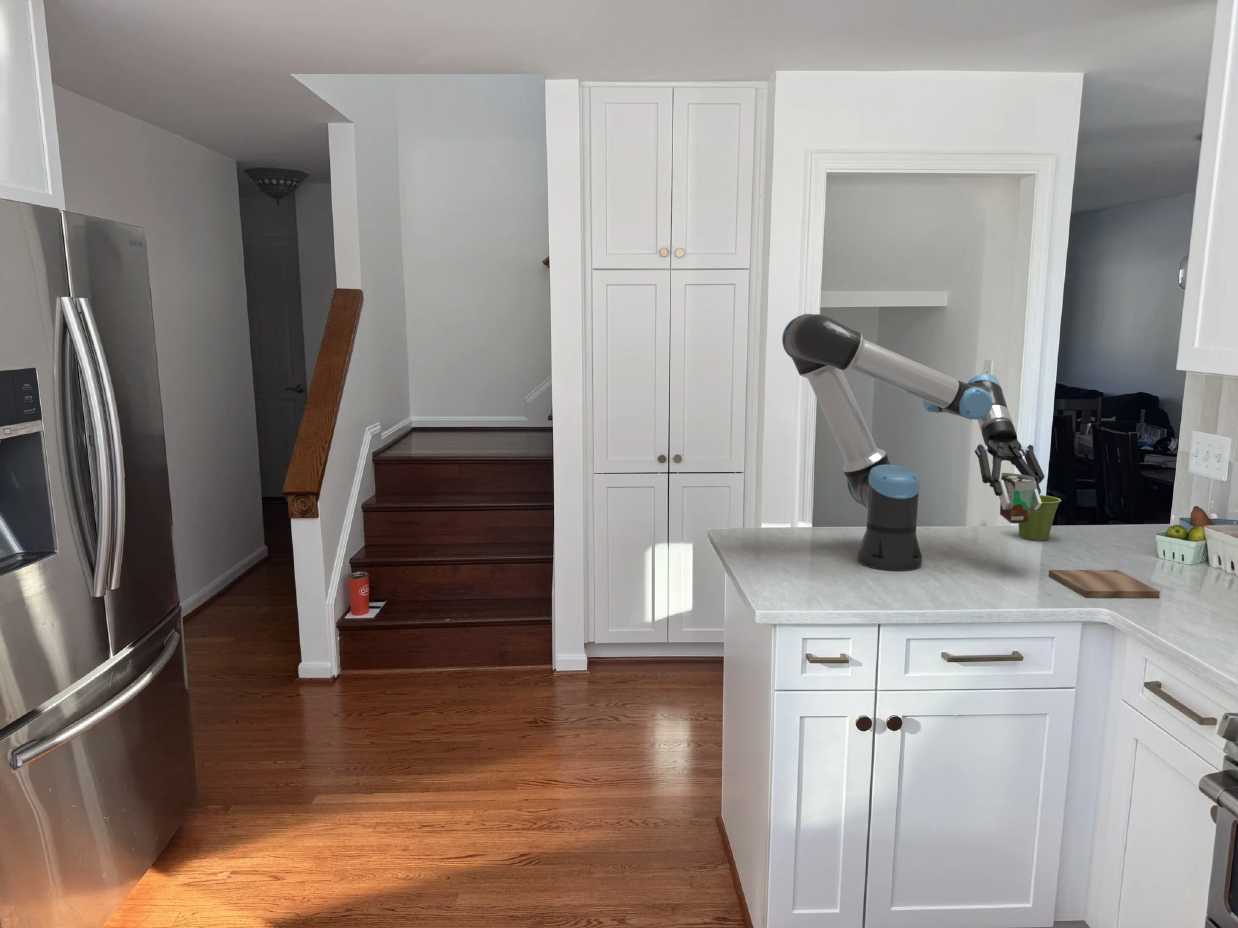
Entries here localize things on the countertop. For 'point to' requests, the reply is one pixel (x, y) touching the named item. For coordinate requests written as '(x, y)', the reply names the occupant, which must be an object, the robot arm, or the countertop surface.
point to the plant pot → (1040, 519)
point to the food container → (1018, 497)
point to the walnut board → (1103, 584)
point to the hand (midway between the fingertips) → (1022, 506)
